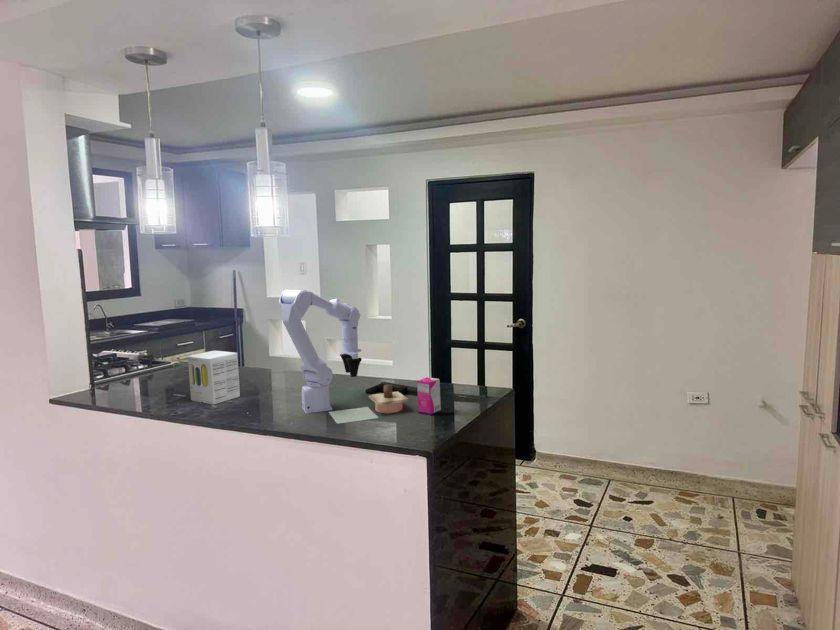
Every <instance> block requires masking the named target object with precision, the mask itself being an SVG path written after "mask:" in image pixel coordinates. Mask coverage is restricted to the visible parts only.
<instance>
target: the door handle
mask: <svg viewBox="0 0 840 630" xmlns="http://www.w3.org/2000/svg"><path fill="white" fill-rule="evenodd" d="M384 385H392V392H397V391H398V392H400V393H401V394H402V395H404V396H405V395H412V396H418V394H417V386H416V387H415V386H410V385H405V384H400V383H395V382H394V383H393V382H388V381H381V382H380V383H378V384H375V385H374V386H371V387H369V388H366V389H365V390H364V391H365V394H366V395H373V394H381V393H384Z"/></svg>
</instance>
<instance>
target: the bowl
mask: <svg viewBox="0 0 840 630" xmlns="http://www.w3.org/2000/svg"><path fill="white" fill-rule="evenodd" d="M403 406H404V405H403V402H398V403H391V404H383V405H377V404H376V403H375V402H374V409H375V411H376V412H377V413H382V414H393V413H395V414H396V413H399V412H400V411H402V410H403Z"/></svg>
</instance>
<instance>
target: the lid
mask: <svg viewBox="0 0 840 630" xmlns="http://www.w3.org/2000/svg"><path fill="white" fill-rule="evenodd" d="M368 398H369V399H370V400H371V401H372V402H374V404H375V403H376V404H377V405H383V404H391V403H398V402H402V403H405V402H406V403H407V402H410V400H409V398H408V397H407V396H405V395H402V394H401V393H400V392H398V391H397V392H392V385H384V393H374V394H368Z"/></svg>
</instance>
